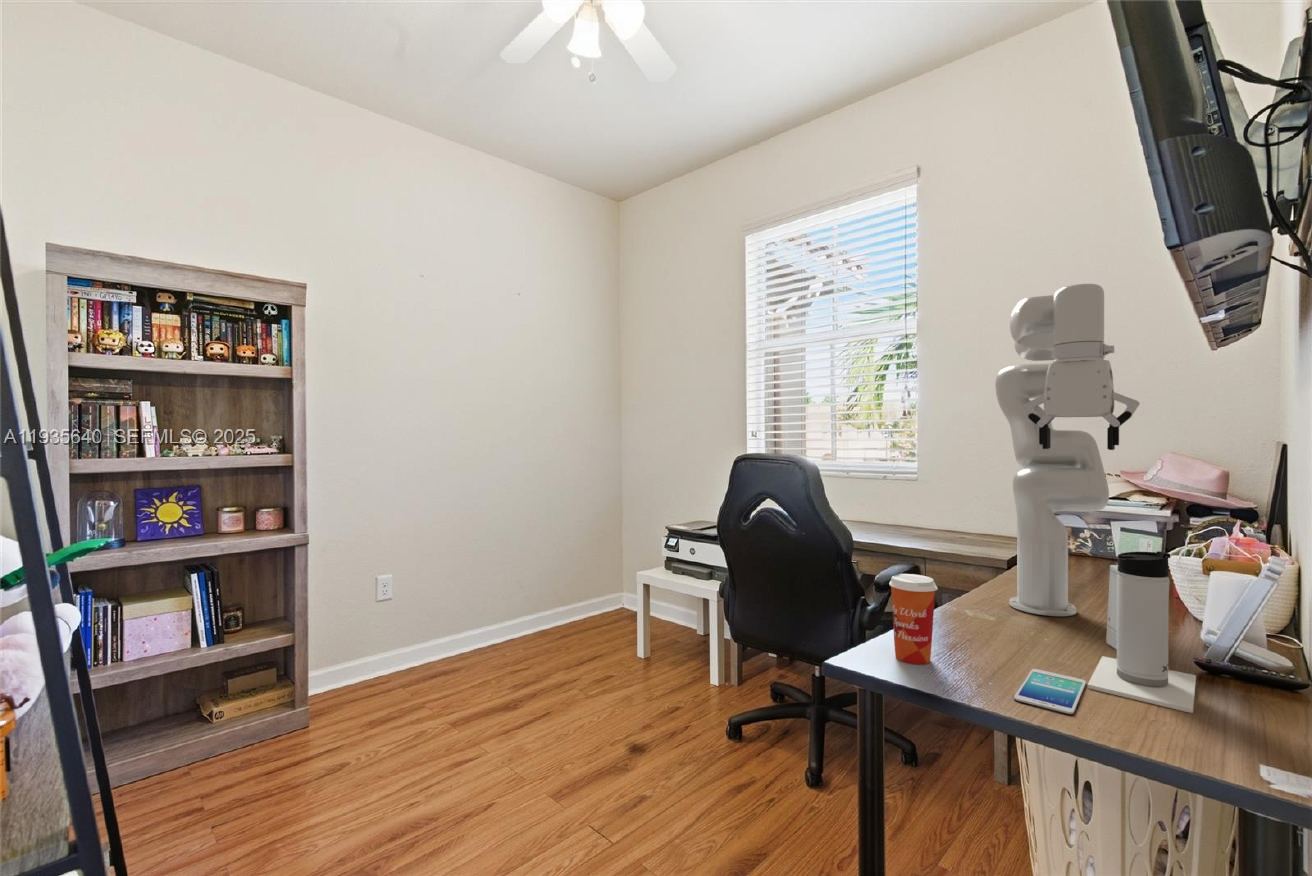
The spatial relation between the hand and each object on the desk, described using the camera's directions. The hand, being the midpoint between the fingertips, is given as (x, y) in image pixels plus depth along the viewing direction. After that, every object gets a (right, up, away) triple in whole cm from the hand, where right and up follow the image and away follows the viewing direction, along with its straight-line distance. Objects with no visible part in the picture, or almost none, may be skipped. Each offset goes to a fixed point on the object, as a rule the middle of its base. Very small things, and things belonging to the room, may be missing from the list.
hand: (1077, 449), depth 108 cm
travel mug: (0, -36, -15) cm, 39 cm away
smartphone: (-17, -37, -17) cm, 44 cm away
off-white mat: (0, -36, -15) cm, 39 cm away
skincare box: (+9, -37, -2) cm, 38 cm away
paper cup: (-32, -37, -4) cm, 49 cm away
